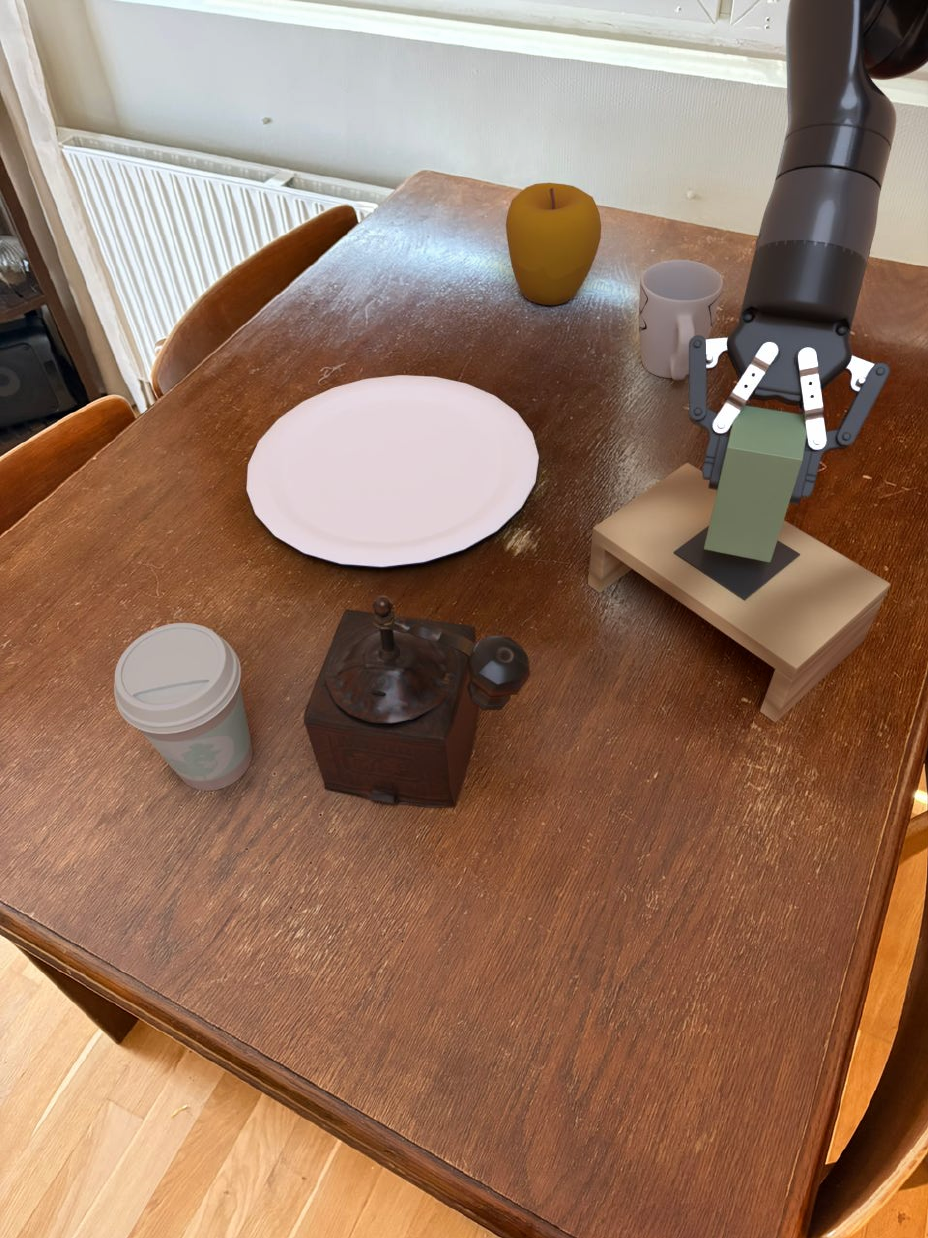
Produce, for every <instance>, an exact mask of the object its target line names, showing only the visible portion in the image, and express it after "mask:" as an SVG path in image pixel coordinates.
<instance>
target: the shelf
mask: <svg viewBox="0 0 928 1238" xmlns="http://www.w3.org/2000/svg"><path fill="white" fill-rule="evenodd" d="M709 482H710V480H704V479H703V474H702V469H701V470H700V469H699V468H697V467H695V466H694V465H692V464H690V463H689V462H685V463H684V464H683V465H681V466H680V467H678V468H677V469H676V470H674V471H673V472H671V473H670V474H668V475H667V476H666V477H663V479H661V480H660V481H658V482H657V483H655V484H654V485H653V486H651V487H649V488H648V489H646V490H645V491H644V492H643V493H641V494H639V495H638V496H636V497H635V498H633V500H632V499H631V501H630V502H628V503H626V504H625V505H624V506H622V507H621V508H619V509H618V510H616V511H615V512H614V513H612V514H611V515H609V516H608V517H606V518H604V520H602V521H600V522H598V524H596V525H595V526H593V527H592V533H591V534H592V535H591V544H590V545H591V546H590V557H589V567H588V579H587V585H588V586H589V587H591V588H592V589H593V590H595V591H596V592H597V593H599V594H601V593H602V592H604V591H605V590H607V589H608V588H609V587H610V586H612V585H613V584H615V583H616V582H617V581H618V580H620V579H621V578H623V577H624V576H625V575H626V574H628V573H629V572H631V571H632V570H633V571H634V572H636V573H637V574H639V575H640V576H642V577H643V578H645V579H646V580H648V581H649V582H650V583H652V584H653V585H654V586H656V587H657V588H659V589H660V590H662V591H663V592H665V593H666V594H668V595H669V596H671V597H672V598H673V599H675V600H676V601H678V602H679V603H681V604H682V605H683V606H685V607H686V608H688V609H689V610H691V611H692V612H693V613H695V614H696V615H697V616H699V617H701V619H703V620H705V622H708V623H709V624H710V625H712V626H713V627H715V628H716V629H718V630H719V631H720V632H721V633H723V634H725V635H726V636H727V637H729V638H730V639H732V640H733V641H735V642H736V643H738V644H739V645H740V646H742V647H744V648H745V649H746V650H747V651H749V652H751V653H752V654H753V655H755V656H756V657H758V658H759V659H761V660H762V661H763V662H765V663H766V664H767V665H769V666H771V667H772V668H773V669H774V671H773V675H772V677H771V680H770V681H769V685H768V688H767V690H766V693H765V695H764V698H763V701H762V704H761V707H760V710H759V712H760V713H761V714H762V715H764V717H767V718H768V719H769V720H771V721H772V722H773V723H777V722H778V721H779V720H780V719H781V718H783V716H784V715H786V714H787V713H788V712H789V711H790V710H791V709H792V708H793V707H795V705H796V704H797V703H799V702H800V700H802V699H803V698H804V697H805V696H806V695H807V694H808V693H809V692H811V690H812V689H814V688H815V687H816V686H817V685H818V684H819V683H820V682H821V681H822V680H823V679H825V677H827V676H828V675H829V674H830V673H831V672H832V671H833V670H834V669H835V668H836V667H838V665H840V664H841V663H842V662H843V661H844V660H845V659H846V658H847V657H848V656H849V655H850V654H851V653H852V652H853V651H855V650H856V649H857V648H858V647H859V646H860V645H861V644H862V643H863V642H864V641H865V639H866V637H867V636H868V634H869V631H870V629H871V627H872V624H873V622H874V620H875V619H876V616H877V614H878V612H879V609H880V608H881V606H882V603H883V602H884V599H885V597H886V595H887V592H888V591H889V589H890V587H891V582H888V581H887V580H885V579H883V578H882V577H879V576H878V575H877V574H875V573H874V572H872V571H870V570H868V569H866V568H865V567H863V566H861V565H860V564H859V563H857V562H855V561H854V560H852V559H850V558H848V557H847V556H845V555H843V554H842V553H840V552H839V551H836V550H835V549H833V548H832V547H829V545H826V544H824V543H823V542H822V541H819V540H818V539H817V538H815V537H813V536H811V535H810V534H808V533H806V532H805V531H802V530H801V529H800V528H798V527H796V526H795V525H793V524H791V523H789V522H788V521H786V520H784V521H783V524H782V527H781V530H780V534H779V537H778V540H777V543H776V546H775V549H774V553H773V556H772V559H771V562H765V561H760V560H755V559H750V558H745V557H740V556H735V555H730V554H725V553H720V552H715V551H711V550H706V549H704V546H705V541H706V537H707V533H708V528H709V524H710V520H711V515H712V511H713V506H714V502H715V498H716V493H717V490H713V489H708V486H709Z"/></svg>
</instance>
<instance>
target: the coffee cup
mask: <svg viewBox="0 0 928 1238" xmlns="http://www.w3.org/2000/svg"><path fill="white" fill-rule="evenodd" d="M241 677H242V667H241V662H240V659H239V657H238V655H237V654H236V652H235V651H234V648H232V646H231V645H230V644H229V642H228V641H226V640H225V638H223V637H221V636H219V635H218V634H217V633H216V632H215V631H213V630H212V629H211V628H208V627H206V626H204V625H201V624H199V623H198V624H197V623H192V622H174V623H169V624H164V625H161V626H159V627H156V628H153V629H151V630H149V631H147V632H145V633H143V634H142V635H140V636H139V637H138V638H136V639H135V640H133V642H132V643H130V644H129V645H128V646H127V647H126V649H125V650H124V651H123V652H122V654H121V656H120V657H119V660H118V661H117V664H116V666H115V671H114V683H113V695H114V700H115V703H116V704H115V705H116V707H117V709H118V712H119V713H120V715H121V717H122V718H123V719H124V721H126V722H127V723H128V724H130V726H132V727H134V728H136V729H138V730H139V731H140V733H141V734H142V735H143V736H144V737H145V739H146V740H147V741H148V742H149V743H150V744H151V746H152V747H153V748H154V749H155V750H156V751H157V752H158V754H159V755H160V757H162V759H164V761H165V762H166V763H167V764H168V765H169V767H170V768H171V769H172V770H173V772H174V773H176V775H177V776H178V777H179V778H180V779H181V781H182V782H183V783H184V784H186V785H187V787H188V786H189V787H190V788H191V789H194V790H197V791H202V792H213V791H217V790H221V789H224V788H227V787H229V786H231V785H233V784H234V783H236V782H237V781H238V780H239V779H241V778H242V777H243V775H244V774H245V773H246V772H247V771H248V769H249V767H250V765H251V763H252V760H253V755H254V752H253V751H254V750H253V744H252V738H251V734H250V729H249V723H248V718H247V714H246V708H245V704H244V698H243V694H242V688H241V684H240V683H241Z"/></svg>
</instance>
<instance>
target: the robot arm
mask: <svg viewBox="0 0 928 1238" xmlns="http://www.w3.org/2000/svg"><path fill="white" fill-rule="evenodd" d="M785 22H786V24H785V59H786V60H785V64H786V65H785V66H786V105H787V128H786V133H785V136H784V140H783V144H782V149H781V153H780V157H779V161H778V166H777V170H776V175H775V180H774V183H773V187H772V190H771V193H770V196H769V198H768V201H767V204H766V207H765V210H764V212H763V215H762V220H761V222H760V227H759V232H758V236H757V238H756V240H755V249H754V254H753V258H752V262H751V266H750V271H749V276H748V280H747V283H746V288H745V291H744V297H743V301H742V305H741V310H740V313H739V318H738V321H737V323H736V325H735V326H734V328H733V329H732V330H731V332H729V334H728V336H727V337H717V338H708V339H705V338H704V337H702V336H700V335H697V336H694V337H692V338H691V339H690V341H689V374H688V410H689V411H688V412H689V413H688V414H689V420H690V422H691V423H692V424H693V425H695V426H698V427H700V428H702V429H703V430H705V431H706V432H707V434H708V437H709V439H708V443H707V447H706V451H705V455H704V460H703V465H702V469H701V471H702V474H703V479H704V480H710V482H709V486H708V489H713V490H717V489H718V485H719V480H720V476H721V472H722V467H723V463H724V459H725V454H726V450H727V446H728V441H729V437H730V436H729V434H730V432H731V429H732V425H733V421H734V418H736V417H737V416H738V415H739V413H740V412H741V410H742V409H743V408H744V407H745V406H749V403H750V402H751V400H756V401H762V402H766V401H778V402H780V403H782V404H784V405H787V406H793V407H797V409H798V414H801V415H802V416H803V419H804V422H805V426H806V430H807V436H806V442H805V448H804V455H803V461H802V464H801V467H800V470H799V473H798V476H797V480H796V483H795V486H794V489H793V492H792V496H791V498H790V502H789V505H794V506H798V505H800V503H801V499H802V498H803V499H808V498H809V497H810V496H811V494H812V493H813V491H814V488H815V485H816V480H817V476H818V472H819V468H820V464H821V461H822V456H823V454H824V453H825V452H828V451H829V452H830V451H834V450H841V451H842V450H845V449H847V448H848V447H850V446H851V445H852V444H854V442H855V441H856V439H857V438H858V435H859V433H860V431H861V429H862V428H863V425H864V423H865V421H866V420H867V418H868V416H869V414H870V412H871V410H872V409H873V406H874V404H875V402H876V400H877V398H878V396H879V394H880V392H881V391H882V389H883V387H884V385H885V383H886V381H887V379H888V377H889V375H890V372H891V368H890V366H889V364H887V363H886V362H883V361H879V362H876V363H873V362H871V361H868V360H865V359H863V358H860V357H857V356H855V355H853V349H852V345H851V342H850V335H851V330H852V326H853V323H854V318H855V314H856V310H857V306H858V301H859V298H860V294H861V289H862V286H863V283H864V282H863V281H864V277H865V273H866V269H867V265H868V260H869V258H870V255H871V248H872V245H873V241H874V237H875V233H876V227H877V222H878V212H879V202H880V197H881V191H882V187H883V183H884V179H885V175H886V171H887V168H888V167H887V166H888V163H889V158H890V156H891V151H892V147H893V143H894V138H895V132H896V127H897V112H896V109H895V106H894V104H893V103H892V100H891V99H890V98H889V96H887V94H885V92H883V90H882V89H880V88H879V86H878V85H876V84H875V82H874V81H873V80H876V81H888V80H889V81H890V80H894V79H899V78H902V77H905V76H908V75H911V74H912V73H914V72H917V71H918V70H920V69H921V68H923V67H924V66H925V65H926V64H928V0H789V3H788V7H787V15H786V21H785ZM725 354H727V356H728V358H729V360H730V363H731V365H732V367H733V369H734V372H735V374H736V376H737V378H738V380H739V381H738V382H737V384H736V385H735V386H734V388H733V390H732V391H731V393H730V394H729V395H728V398H727V400H726V401H725V403H724V404H723V406H722V408H721V409H720V411H719V412H718V413H717V412H715V411H714V410H711V409H710V408H708V406H707V403H708V400H707V399H708V398H707V396H708V394H707V391H708V390H707V387H708V386H707V384H708V383H707V382H708V381H707V380H708V379H707V372H710V371H713V370H714V369H716V367H717V366H718V363H719V360H720V357H722V356H723V355H725ZM843 372H846V373H847V374H848V375H849V382H848V389H849V391H850V392H851V393H853V394H854V397H853V398H852V401H851V402H850V404H849V406H848V409H847V410H846V412H845V414H844V416H843V418H842V420H841V421H840V423H839V425H838V427H837V429H833V430H827V431H826V425H825V424H826V423H825V417H824V416H825V415H824V411H825V410H824V402H823V396H822V391H823V390H824V389H825V388H826V387H828V386H829V385H830V384H831V383H832V382H834V381H835V380H836V379H837V378H838V377H839V376H840V375H841V374H842V373H843Z"/></svg>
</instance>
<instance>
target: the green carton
mask: <svg viewBox="0 0 928 1238" xmlns="http://www.w3.org/2000/svg"><path fill="white" fill-rule="evenodd" d="M806 436H807V430H806V426H805V422H804V419H803V416H802V415H801V414H799V413H795V412H789V411H782V410H776V409H769V408H762V407H757V406H750V405H747V406H745V407H744V408H743V409H742V410H741V412H740V413H739V415H738V416H737V417H736V418H734V421H733V425H732V428H731V430H730V432H729V436H728V437H729V441H728V446H727V450H726V454H725V459H724V463H723V467H722V472H721V476H720V480H719V485H718V489H717V493H716V498H715V502H714V506H713V511H712V515H711V520H710V524H709V528H708V533H707V537H706V541H705V546H704V549H706V550H711V551H715V552H720V553H725V554H730V555H735V556H740V557H745V558H750V559H755V560H760V561H765V562H771V559H772V556H773V553H774V549H775V546H776V543H777V540H778V537H779V534H780V530H781V527H782V524H783V521H785V517H786V514H787V511H788V508H789V506H790V504H789V502H790V498H791V496H792V492H793V489H794V486H795V483H796V480H797V476H798V473H799V470H800V467H801V464H802V461H803V455H804V448H805V442H806Z"/></svg>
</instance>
